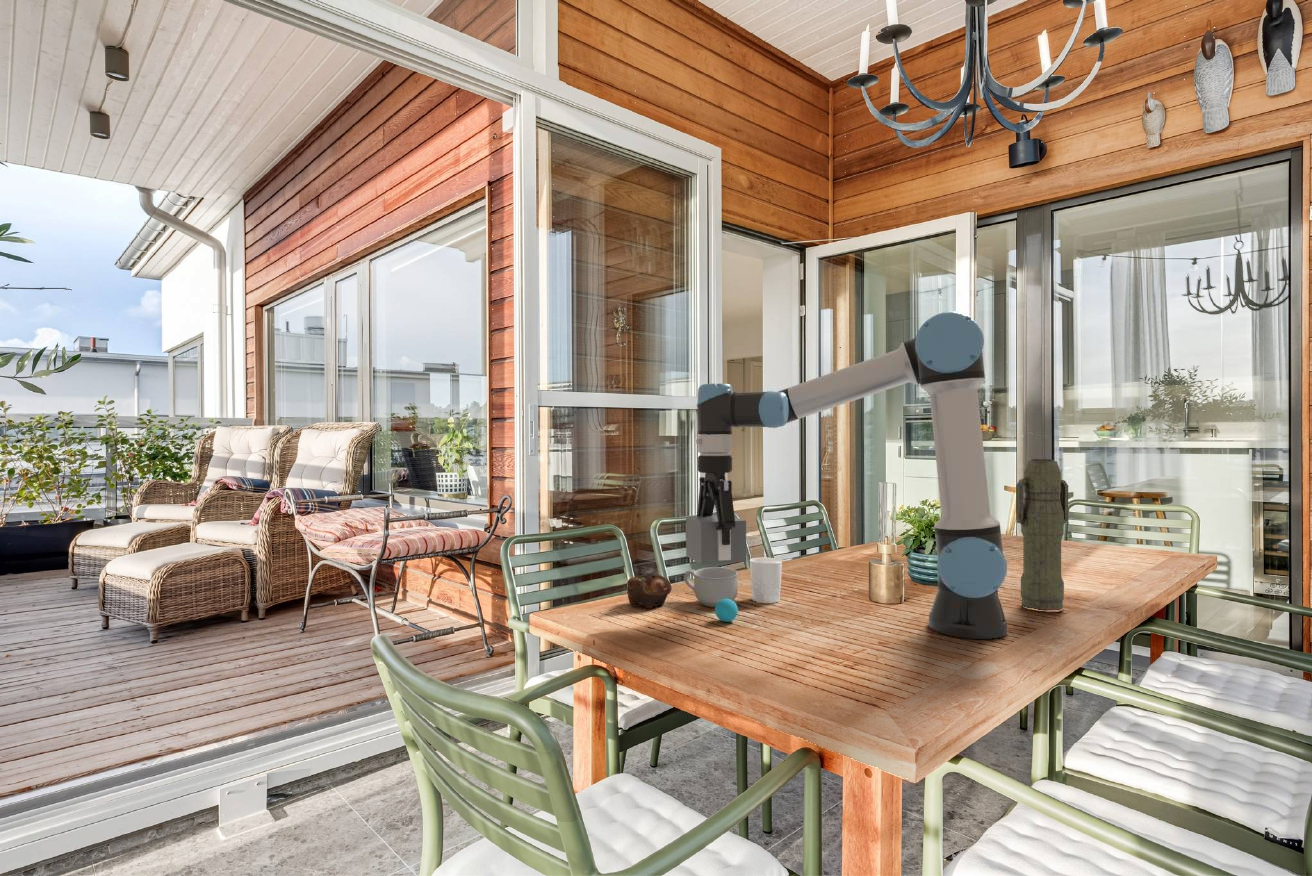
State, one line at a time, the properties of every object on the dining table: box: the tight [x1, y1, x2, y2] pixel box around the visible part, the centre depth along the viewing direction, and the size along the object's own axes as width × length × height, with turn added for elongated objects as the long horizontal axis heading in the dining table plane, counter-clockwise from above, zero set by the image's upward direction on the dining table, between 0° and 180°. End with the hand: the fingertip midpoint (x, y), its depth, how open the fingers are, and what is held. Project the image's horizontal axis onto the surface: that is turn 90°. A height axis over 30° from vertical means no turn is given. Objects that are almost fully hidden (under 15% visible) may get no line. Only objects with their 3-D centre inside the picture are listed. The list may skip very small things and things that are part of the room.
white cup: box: [749, 556, 783, 604], centre depth 176 cm, size 8×8×10 cm
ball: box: [714, 599, 739, 623], centre depth 157 cm, size 5×5×5 cm
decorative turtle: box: [626, 572, 673, 610], centre depth 171 cm, size 10×15×8 cm, turn 147°
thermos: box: [1015, 458, 1069, 610], centre depth 167 cm, size 9×12×35 cm
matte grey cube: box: [685, 515, 747, 565], centre depth 156 cm, size 10×10×9 cm
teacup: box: [683, 566, 739, 608], centre depth 173 cm, size 14×11×8 cm
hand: (715, 555), depth 156 cm, fingers closed on matte grey cube, 10 cm apart
